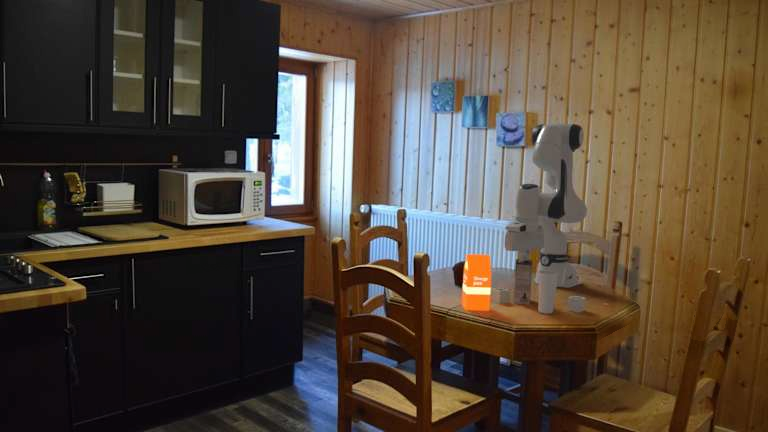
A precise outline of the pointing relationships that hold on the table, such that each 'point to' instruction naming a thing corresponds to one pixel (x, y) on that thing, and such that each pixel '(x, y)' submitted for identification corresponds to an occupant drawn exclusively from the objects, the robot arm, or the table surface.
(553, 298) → the drinking glass
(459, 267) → the muffin
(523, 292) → the coffee box
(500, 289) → the digit block sage
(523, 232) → the robot arm
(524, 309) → the table surface
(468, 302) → the orange juice
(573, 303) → the digit block offwhite
